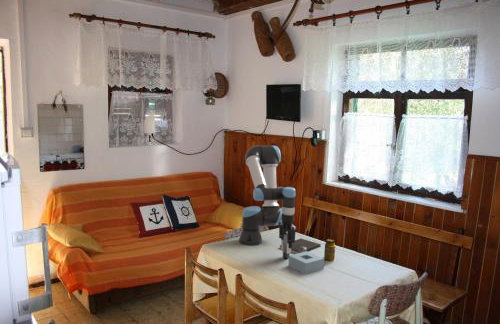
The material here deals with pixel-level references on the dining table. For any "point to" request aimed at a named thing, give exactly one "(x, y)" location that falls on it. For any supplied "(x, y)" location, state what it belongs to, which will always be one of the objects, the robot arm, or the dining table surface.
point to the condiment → (329, 251)
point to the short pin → (303, 249)
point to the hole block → (306, 262)
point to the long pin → (285, 246)
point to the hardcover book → (304, 243)
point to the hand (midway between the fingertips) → (286, 251)
